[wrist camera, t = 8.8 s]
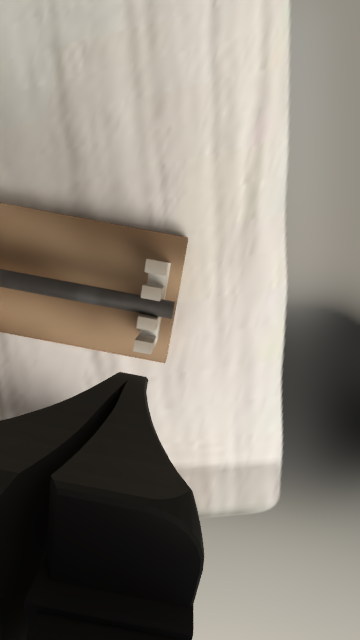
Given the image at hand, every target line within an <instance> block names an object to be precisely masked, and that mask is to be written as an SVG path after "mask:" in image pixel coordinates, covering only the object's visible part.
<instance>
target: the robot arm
mask: <svg viewBox="0 0 360 640" xmlns="http://www.w3.org/2000/svg"><path fill="white" fill-rule="evenodd" d="M147 383H148V379H147V378H146V377H143V376H138V375H133V374H127V373H122V372H119V373H117V374H115V375H113V376H112V377H110V378H108V379H107V380H105V381H103V382H101V383H99V384H98V385H96V386H94V387H92V388H90V389H88V390H86V391H84V392H82V393H80V394H78V395H76V396H74V397H72V398H69V399H67V400H65V401H62V402H60V403H57V404H55V405H52V406H49V407H47V408H44V409H41V410H37V411H34V412H31V413H27V414H24V415H21V416H17V417H14V418H10V419H6V420H2V421H0V640H192V636H193V603H194V599H195V596H196V592H197V588H198V585H199V582H200V578H201V575H202V571H203V563H204V548H203V539H202V533H201V526H200V521H199V516H198V511H197V507H196V503H195V499H194V495H193V492H192V490H191V489H190V487H189V486H188V485H187V484H186V482H185V481H184V480H183V478H182V477H181V476H180V475H179V473H178V472H177V471H176V469H175V467H174V466H173V464H172V463H171V461H170V460H169V458H168V456H167V454H166V452H165V450H164V448H163V447H162V445H161V443H160V441H159V438H158V436H157V434H156V431H155V429H154V426H153V423H152V420H151V416H150V412H149V408H148V403H147V396H146V389H147Z"/></svg>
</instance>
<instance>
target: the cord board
mask: <svg viewBox="0 0 360 640" xmlns="http://www.w3.org/2000/svg"><path fill="white" fill-rule="evenodd" d="M187 243H188V238H187V237H182V236H176V235H171V234H165V233H160V232H155V231H149V230H144V229H139V228H133V227H128V226H122V225H117V224H112V223H106V222H101V221H96V220H90V219H85V218H80V217H74V216H69V215H63V214H58V213H53V212H47V211H42V210H37V209H31V208H26V207H20V206H15V205H10V204H4V203H0V332H4V333H9V334H14V335H19V336H25V337H30V338H35V339H40V340H46V341H51V342H56V343H62V344H67V345H72V346H77V347H83V348H88V349H93V350H99V351H104V352H109V353H114V354H120V355H125V356H130V357H135V358H141V359H146V360H151V361H157V362H162V363H165V362H166V358H167V354H168V348H169V343H170V337H171V332H172V326H173V321H174V315H175V309H176V304H177V298H178V293H179V287H180V282H181V276H182V271H183V265H184V260H185V254H186V248H187Z"/></svg>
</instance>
